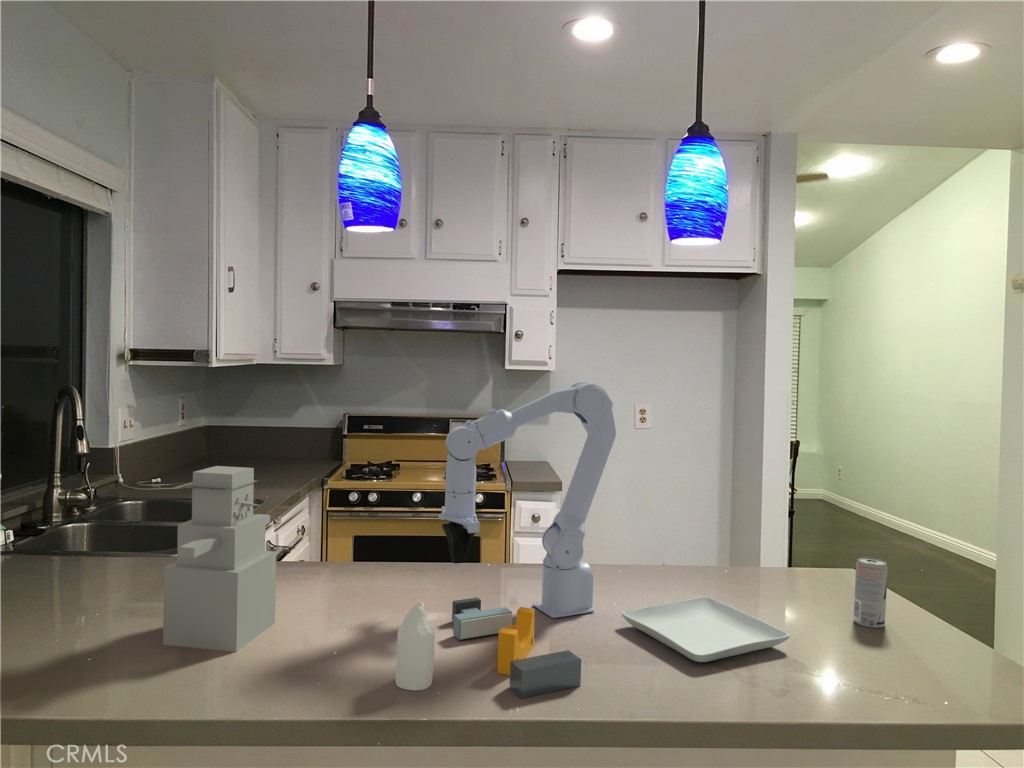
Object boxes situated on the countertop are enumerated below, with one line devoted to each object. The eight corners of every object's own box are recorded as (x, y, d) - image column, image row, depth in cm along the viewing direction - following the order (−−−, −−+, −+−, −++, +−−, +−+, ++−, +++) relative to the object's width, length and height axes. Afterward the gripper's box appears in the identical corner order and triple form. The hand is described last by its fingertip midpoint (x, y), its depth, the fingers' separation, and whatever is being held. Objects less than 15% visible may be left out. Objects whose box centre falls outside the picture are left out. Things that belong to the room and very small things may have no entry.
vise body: (566, 674, 111) (567, 649, 111) (580, 685, 107) (581, 659, 107) (508, 686, 106) (509, 660, 106) (521, 698, 103) (521, 671, 102)
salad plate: (697, 675, 113) (698, 653, 113) (617, 628, 132) (618, 609, 132) (793, 653, 123) (794, 633, 122) (706, 612, 141) (706, 595, 141)
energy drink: (884, 621, 138) (887, 559, 138) (885, 630, 133) (888, 566, 133) (853, 616, 141) (856, 555, 140) (853, 625, 136) (856, 562, 135)
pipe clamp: (509, 643, 123) (510, 605, 123) (533, 646, 122) (534, 608, 121) (486, 671, 111) (487, 630, 111) (513, 676, 110) (514, 634, 110)
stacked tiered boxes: (139, 659, 112) (141, 479, 111) (223, 607, 135) (225, 458, 134) (216, 667, 110) (219, 484, 109) (288, 613, 133) (291, 462, 132)
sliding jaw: (489, 614, 135) (489, 595, 135) (512, 632, 127) (513, 612, 126) (439, 621, 130) (439, 602, 130) (460, 640, 122) (460, 620, 122)
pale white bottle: (391, 598, 107) (425, 593, 110) (389, 678, 108) (423, 670, 111) (407, 611, 102) (443, 605, 105) (405, 694, 103) (440, 685, 106)
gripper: (427, 484, 140) (425, 553, 141) (454, 499, 127) (452, 575, 128) (461, 483, 143) (459, 550, 144) (491, 497, 130) (488, 571, 131)
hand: (458, 562), depth 136 cm, fingers closed
